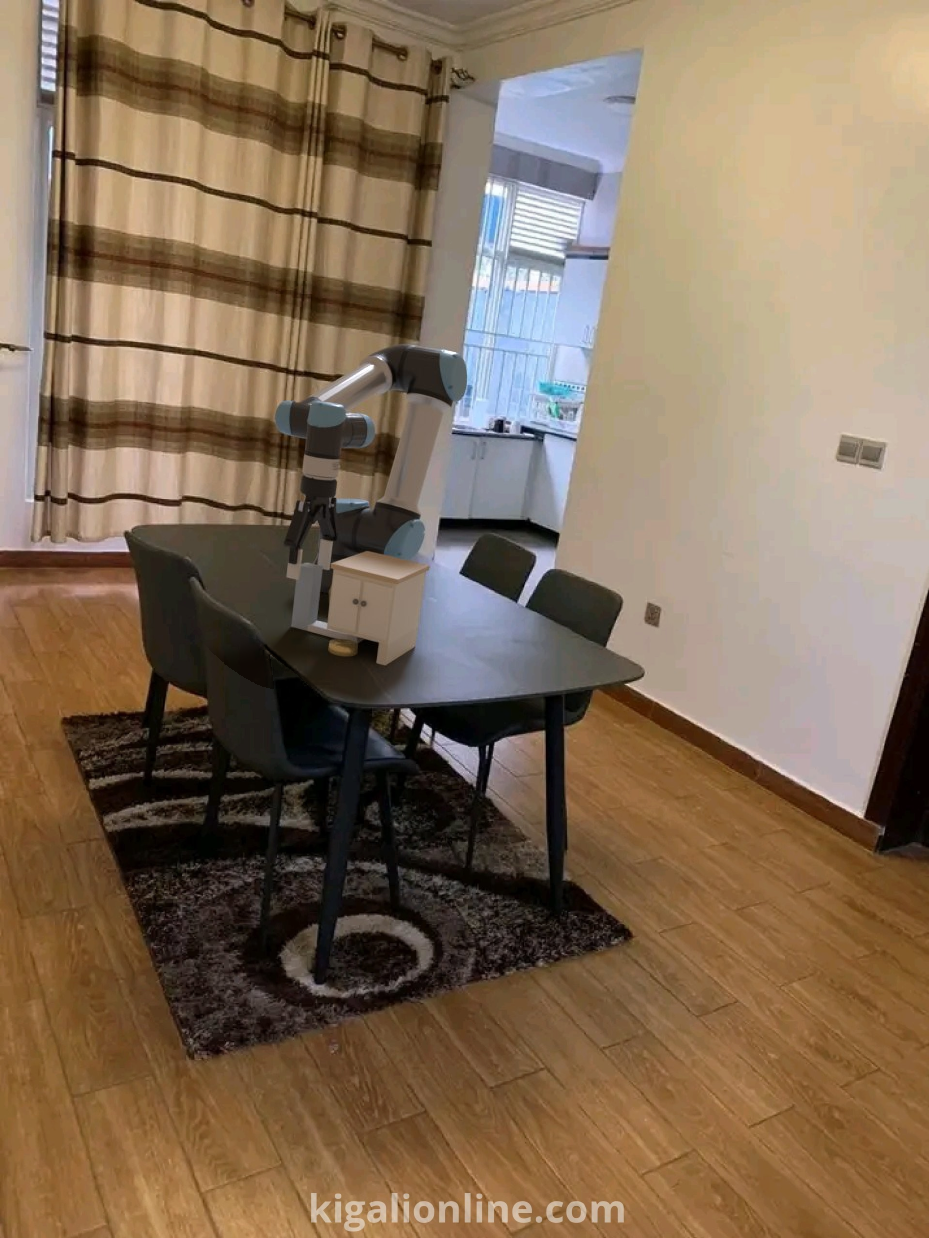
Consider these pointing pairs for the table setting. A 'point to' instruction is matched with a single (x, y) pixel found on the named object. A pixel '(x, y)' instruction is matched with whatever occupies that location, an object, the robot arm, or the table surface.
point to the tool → (312, 604)
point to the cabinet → (378, 601)
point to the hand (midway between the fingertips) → (308, 573)
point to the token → (343, 647)
